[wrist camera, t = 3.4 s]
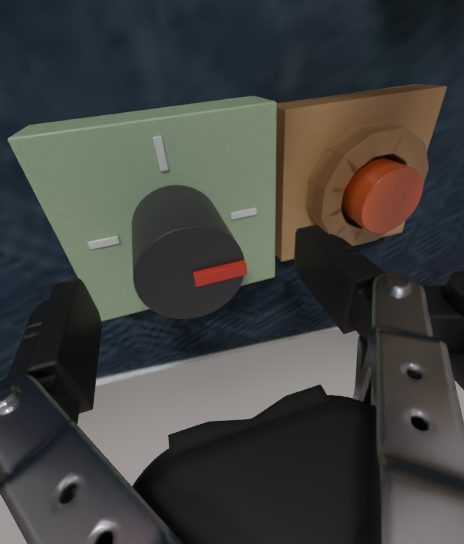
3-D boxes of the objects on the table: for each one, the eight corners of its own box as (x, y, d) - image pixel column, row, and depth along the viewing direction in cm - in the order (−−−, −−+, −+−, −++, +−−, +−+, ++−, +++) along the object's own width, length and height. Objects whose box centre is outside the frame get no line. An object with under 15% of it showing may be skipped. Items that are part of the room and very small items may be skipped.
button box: (268, 245, 21) (293, 277, 18) (267, 104, 16) (302, 114, 13) (381, 219, 23) (421, 244, 20) (415, 83, 17) (479, 88, 14)
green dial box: (103, 290, 19) (99, 324, 17) (27, 125, 13) (4, 139, 11) (259, 253, 21) (276, 279, 19) (254, 95, 15) (278, 101, 13)
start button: (337, 226, 17) (355, 240, 16) (347, 164, 15) (369, 174, 14) (389, 214, 18) (411, 226, 16) (406, 153, 16) (433, 161, 14)
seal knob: (144, 271, 16) (150, 335, 12) (119, 194, 13) (116, 246, 9) (222, 253, 17) (250, 308, 13) (213, 177, 14) (245, 218, 10)
